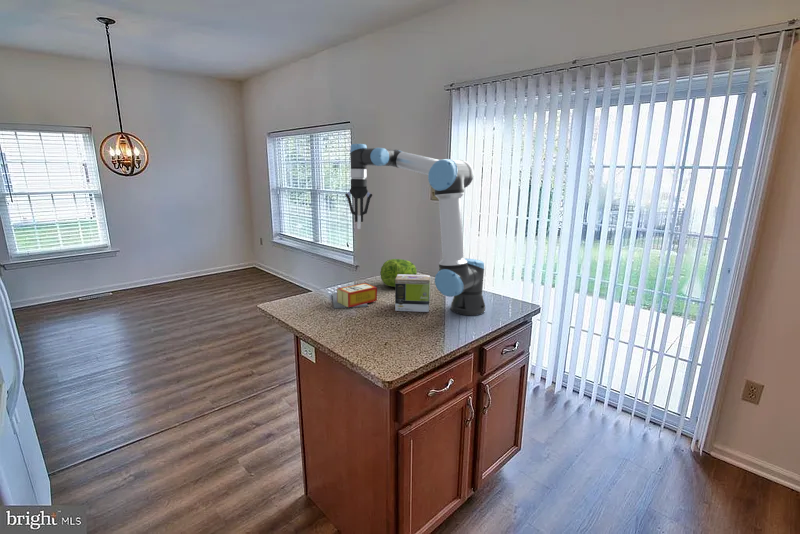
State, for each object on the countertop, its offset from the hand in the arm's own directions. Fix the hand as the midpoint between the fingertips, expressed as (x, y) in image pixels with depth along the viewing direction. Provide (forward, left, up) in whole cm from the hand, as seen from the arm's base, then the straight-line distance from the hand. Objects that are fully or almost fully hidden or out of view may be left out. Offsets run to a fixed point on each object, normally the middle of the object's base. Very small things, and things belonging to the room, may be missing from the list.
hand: (359, 228), depth 189 cm
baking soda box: (-11, -4, -28) cm, 31 cm away
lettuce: (+10, -23, -33) cm, 41 cm away
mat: (-11, +6, -32) cm, 35 cm away
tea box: (-26, -21, -33) cm, 47 cm away
